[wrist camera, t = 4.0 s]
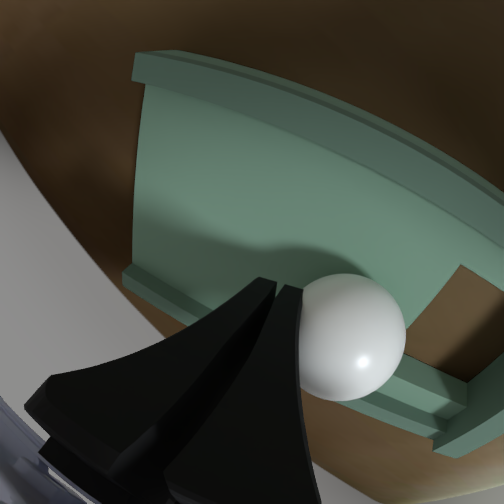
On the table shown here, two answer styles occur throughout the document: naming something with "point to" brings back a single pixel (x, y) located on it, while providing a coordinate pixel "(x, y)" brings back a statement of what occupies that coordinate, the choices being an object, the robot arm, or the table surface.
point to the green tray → (309, 218)
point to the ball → (348, 337)
